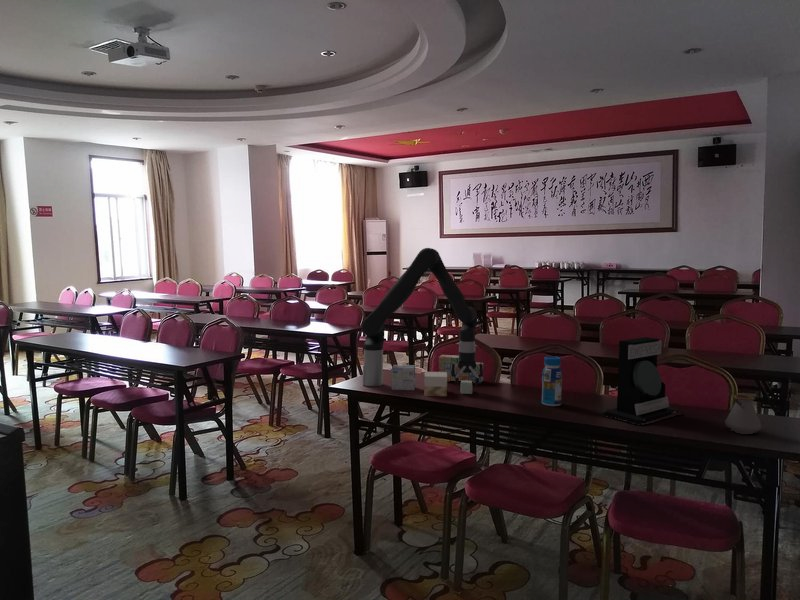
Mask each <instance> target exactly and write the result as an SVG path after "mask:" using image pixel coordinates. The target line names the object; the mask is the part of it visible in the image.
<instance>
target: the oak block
mask: <svg viewBox="0 0 800 600" xmlns="http://www.w3.org/2000/svg"><path fill="white" fill-rule="evenodd" d="M423 387H424V388H423V392H424V393H423V396H426V397H448V391H447V390H448V386H447V387H431V386H425V382H424V386H423Z"/></svg>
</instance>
